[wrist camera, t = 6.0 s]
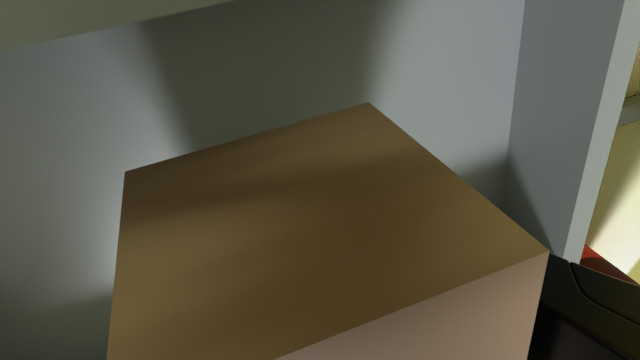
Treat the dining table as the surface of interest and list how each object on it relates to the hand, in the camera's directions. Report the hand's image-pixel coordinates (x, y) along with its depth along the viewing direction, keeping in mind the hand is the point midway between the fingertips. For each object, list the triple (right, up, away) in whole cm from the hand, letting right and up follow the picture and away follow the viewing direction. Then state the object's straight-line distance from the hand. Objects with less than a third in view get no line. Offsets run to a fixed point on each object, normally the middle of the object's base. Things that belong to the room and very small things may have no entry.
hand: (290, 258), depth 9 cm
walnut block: (0, +1, +1) cm, 1 cm away
